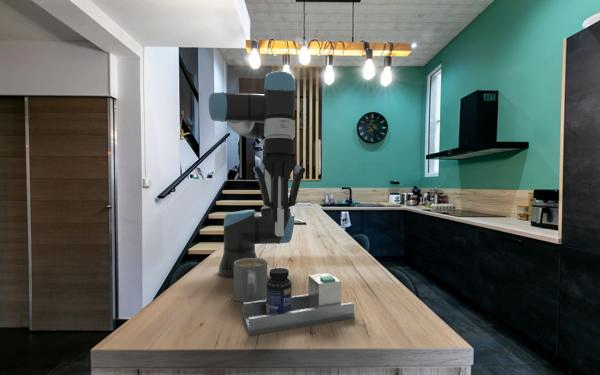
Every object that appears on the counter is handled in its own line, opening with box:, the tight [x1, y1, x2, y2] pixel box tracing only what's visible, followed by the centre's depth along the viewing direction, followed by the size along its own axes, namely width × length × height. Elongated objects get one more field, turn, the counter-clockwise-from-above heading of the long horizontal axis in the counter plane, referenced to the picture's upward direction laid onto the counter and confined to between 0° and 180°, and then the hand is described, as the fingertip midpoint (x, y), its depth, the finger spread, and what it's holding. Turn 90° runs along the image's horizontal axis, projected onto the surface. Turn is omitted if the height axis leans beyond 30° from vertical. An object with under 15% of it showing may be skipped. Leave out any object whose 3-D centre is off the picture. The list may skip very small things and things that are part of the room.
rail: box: [242, 272, 355, 337], centre depth 71 cm, size 10×26×10 cm, turn 109°
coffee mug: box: [233, 257, 268, 303], centre depth 83 cm, size 13×10×10 cm
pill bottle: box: [265, 267, 292, 315], centre depth 69 cm, size 6×6×11 cm
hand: (279, 235), depth 69 cm, fingers closed
